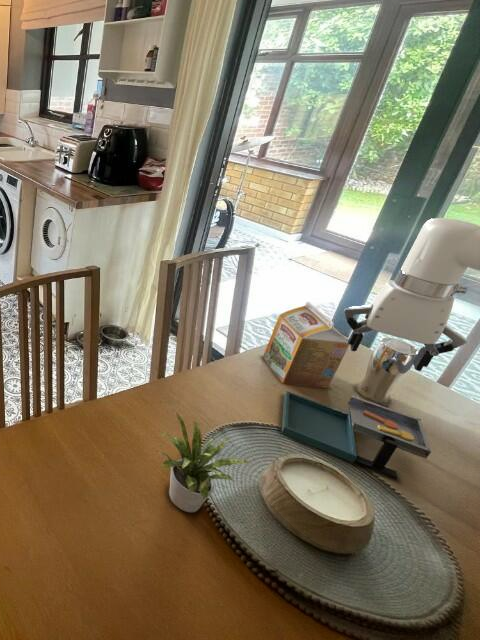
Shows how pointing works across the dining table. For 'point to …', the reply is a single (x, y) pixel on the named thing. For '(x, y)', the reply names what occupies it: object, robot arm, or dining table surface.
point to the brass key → (397, 432)
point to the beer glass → (387, 368)
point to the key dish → (370, 429)
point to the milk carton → (305, 347)
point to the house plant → (194, 470)
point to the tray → (318, 426)
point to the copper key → (382, 420)
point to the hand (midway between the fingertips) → (383, 357)
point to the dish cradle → (381, 458)
